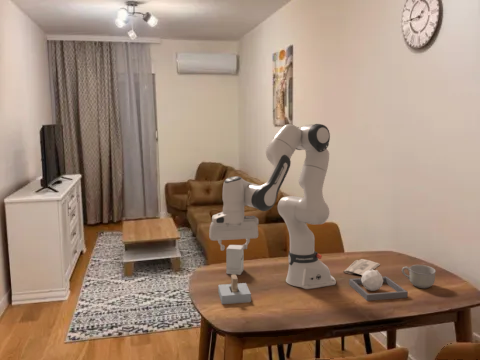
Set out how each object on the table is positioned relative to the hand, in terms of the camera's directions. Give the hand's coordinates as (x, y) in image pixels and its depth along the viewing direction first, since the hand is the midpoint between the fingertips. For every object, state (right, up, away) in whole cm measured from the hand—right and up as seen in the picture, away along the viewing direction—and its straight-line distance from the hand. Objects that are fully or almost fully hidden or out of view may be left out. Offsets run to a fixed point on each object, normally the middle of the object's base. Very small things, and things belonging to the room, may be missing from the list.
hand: (234, 249), depth 181 cm
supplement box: (0, -16, +33) cm, 37 cm away
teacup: (+82, -19, +15) cm, 86 cm away
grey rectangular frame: (+62, -19, +9) cm, 65 cm away
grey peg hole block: (0, -21, +3) cm, 21 cm away
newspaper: (+62, -16, +37) cm, 74 cm away
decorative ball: (+59, -19, +11) cm, 63 cm away
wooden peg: (0, -20, +3) cm, 20 cm away
